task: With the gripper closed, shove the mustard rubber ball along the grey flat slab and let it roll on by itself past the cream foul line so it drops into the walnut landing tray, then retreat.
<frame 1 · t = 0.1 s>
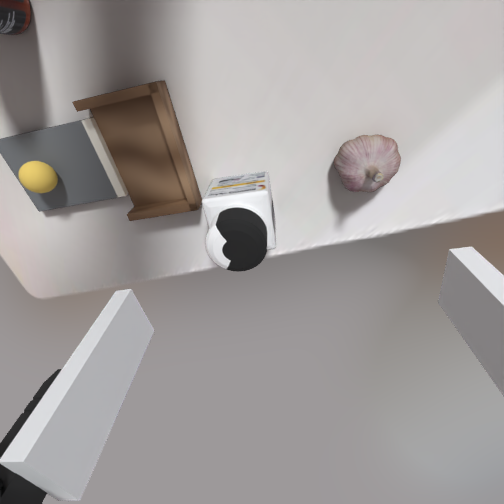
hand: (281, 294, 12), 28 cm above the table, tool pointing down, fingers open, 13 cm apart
garlic bulb: (362, 158, 36), on the table
ball: (38, 177, 36), point 3 cm above the table, touching grey flat slab
tray: (149, 154, 37), on the table
grey flat slab: (67, 167, 39), on the table
container: (245, 200, 40), on the table
supplement bottle: (5, 0, 29), on the table
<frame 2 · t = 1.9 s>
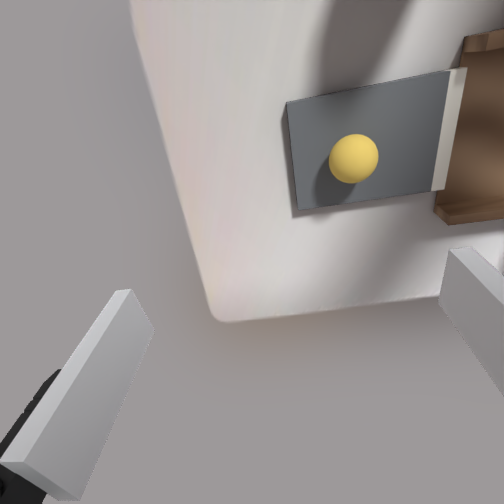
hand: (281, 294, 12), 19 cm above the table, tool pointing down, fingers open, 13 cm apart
ball: (352, 159, 24), point 3 cm above the table, touching grey flat slab
grey flat slab: (366, 146, 27), on the table
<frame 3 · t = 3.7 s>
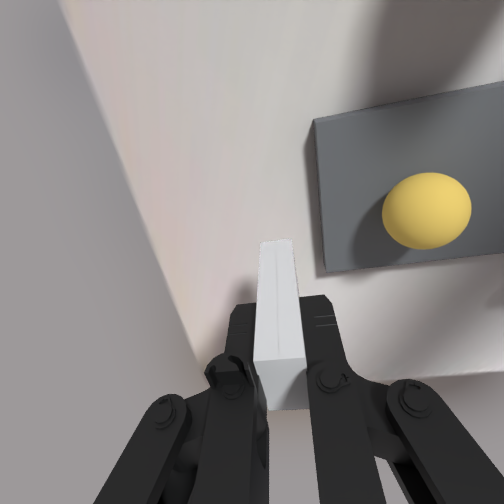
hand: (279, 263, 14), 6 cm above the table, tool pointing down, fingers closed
ball: (423, 211, 15), point 3 cm above the table, touching grey flat slab
grey flat slab: (435, 183, 17), on the table
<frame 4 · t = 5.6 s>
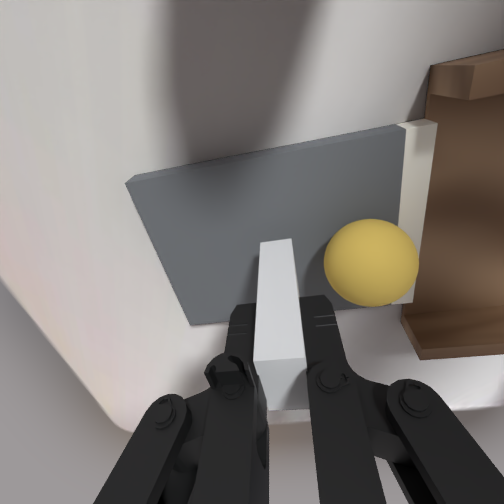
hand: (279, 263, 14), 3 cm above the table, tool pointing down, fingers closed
ball: (368, 262, 13), point 3 cm above the table, tilted 165°, touching grey flat slab
grey flat slab: (282, 237, 16), on the table
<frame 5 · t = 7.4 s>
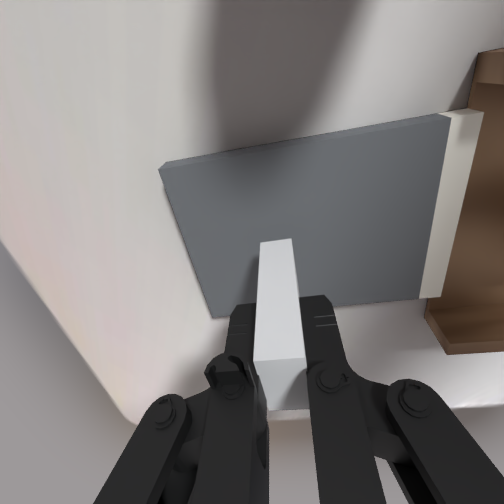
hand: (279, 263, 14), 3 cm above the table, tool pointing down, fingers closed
grey flat slab: (312, 229, 16), on the table
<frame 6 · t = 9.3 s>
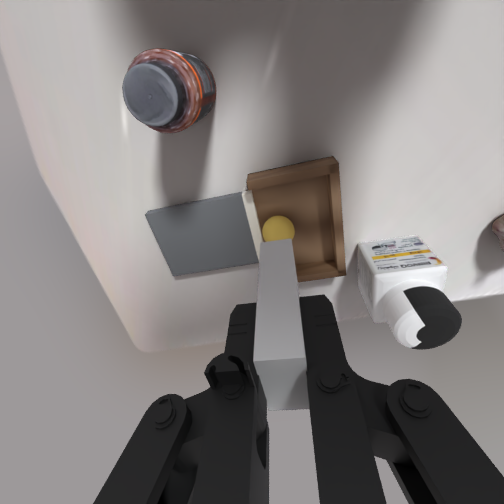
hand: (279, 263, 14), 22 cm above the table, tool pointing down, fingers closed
ball: (278, 231, 35), point 2 cm above the table, tilted 26°, touching tray
tray: (298, 221, 37), on the table
grey flat slab: (210, 234, 39), on the table
container: (385, 260, 40), on the table
supplement bottle: (189, 88, 30), on the table
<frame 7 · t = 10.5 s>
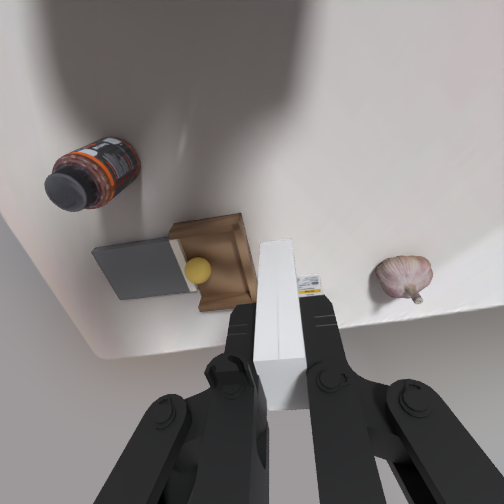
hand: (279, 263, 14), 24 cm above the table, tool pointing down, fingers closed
garlic bulb: (398, 265, 43), on the table
ball: (198, 270, 43), point 2 cm above the table, tilted 38°, touching tray
tray: (220, 260, 44), on the table
grey flat slab: (148, 267, 46), on the table
container: (296, 292, 47), on the table
supplement bottle: (119, 159, 37), on the table
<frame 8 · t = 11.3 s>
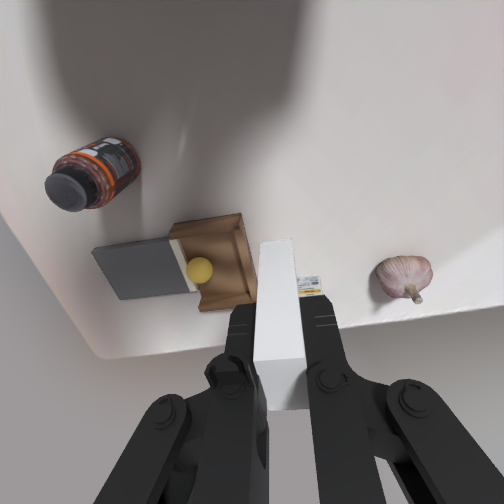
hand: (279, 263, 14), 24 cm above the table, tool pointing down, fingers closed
garlic bulb: (398, 265, 43), on the table
ball: (199, 270, 43), point 2 cm above the table, tilted 30°, touching tray
tray: (220, 260, 44), on the table
grey flat slab: (148, 267, 46), on the table
container: (296, 292, 47), on the table
supplement bottle: (119, 159, 37), on the table
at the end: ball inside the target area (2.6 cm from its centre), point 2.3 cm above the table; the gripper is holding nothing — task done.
